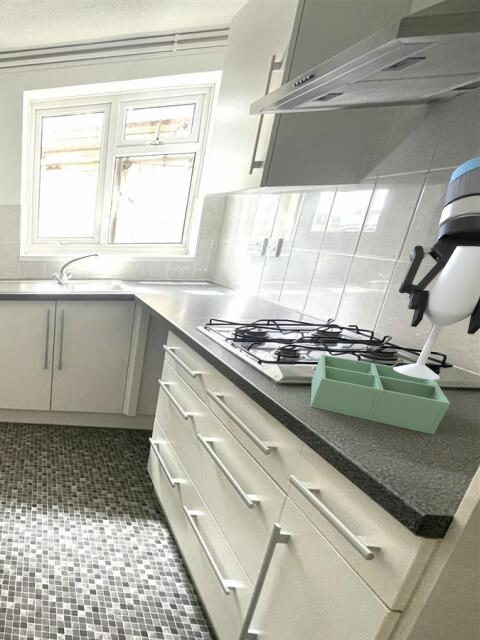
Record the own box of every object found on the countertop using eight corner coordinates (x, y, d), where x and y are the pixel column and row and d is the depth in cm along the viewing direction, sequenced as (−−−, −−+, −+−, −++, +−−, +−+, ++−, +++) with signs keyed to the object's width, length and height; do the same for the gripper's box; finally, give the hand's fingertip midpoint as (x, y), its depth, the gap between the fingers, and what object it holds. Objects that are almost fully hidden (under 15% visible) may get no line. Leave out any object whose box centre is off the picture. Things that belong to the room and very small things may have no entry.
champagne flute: (387, 364, 87) (441, 244, 77) (431, 370, 84) (492, 246, 75) (400, 375, 82) (459, 248, 72) (447, 382, 79) (515, 250, 69)
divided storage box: (416, 400, 94) (430, 372, 92) (433, 434, 81) (450, 403, 78) (311, 379, 105) (321, 354, 102) (310, 406, 91) (321, 378, 88)
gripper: (531, 244, 79) (513, 347, 74) (390, 238, 90) (366, 327, 85) (559, 214, 73) (541, 325, 68) (405, 212, 84) (380, 306, 79)
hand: (444, 326), depth 76 cm, fingers closed on champagne flute, 7 cm apart
